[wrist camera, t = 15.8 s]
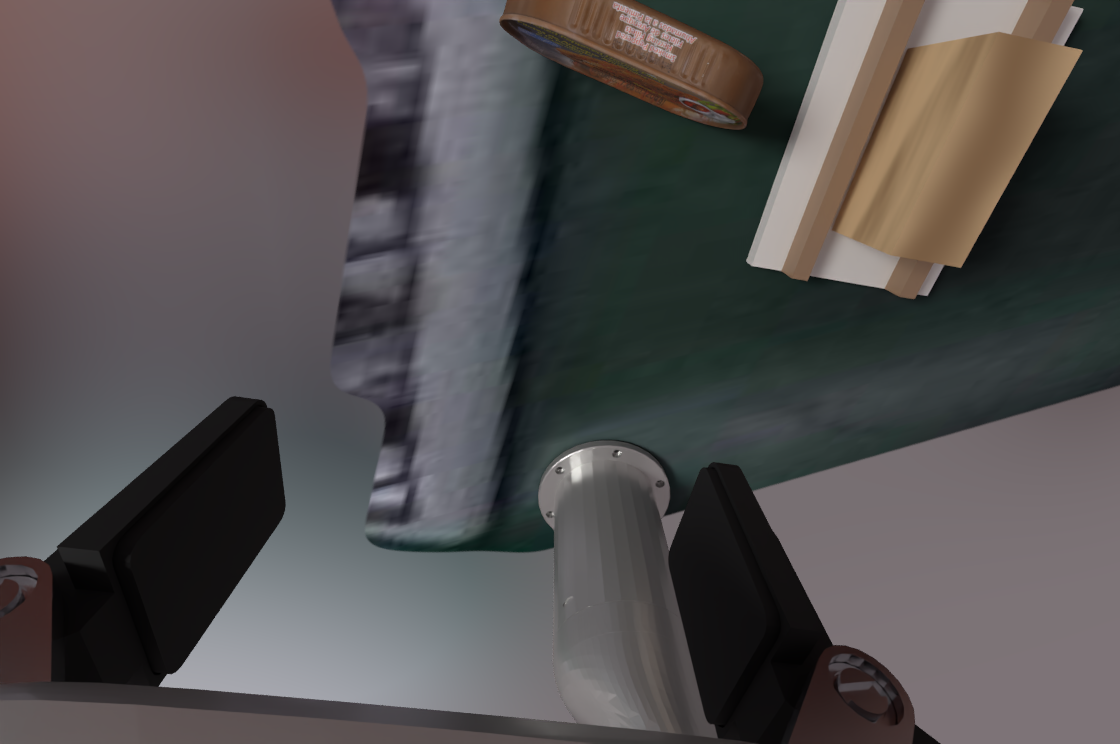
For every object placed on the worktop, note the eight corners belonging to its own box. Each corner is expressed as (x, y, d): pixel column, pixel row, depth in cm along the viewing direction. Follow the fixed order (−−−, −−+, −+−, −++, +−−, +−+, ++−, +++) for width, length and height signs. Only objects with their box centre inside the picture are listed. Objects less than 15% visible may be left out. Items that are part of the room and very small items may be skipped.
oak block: (975, 63, 30) (1082, 50, 24) (890, 240, 35) (960, 267, 29) (907, 48, 30) (998, 31, 24) (831, 230, 35) (890, 255, 29)
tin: (505, 39, 31) (487, 16, 23) (521, -20, 29) (508, -65, 22) (717, 133, 33) (763, 139, 26) (741, 82, 32) (796, 73, 24)
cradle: (917, 290, 38) (943, 304, 36) (746, 261, 37) (760, 272, 34) (1065, 12, 30) (1114, 3, 27) (850, -37, 29) (880, -52, 26)
